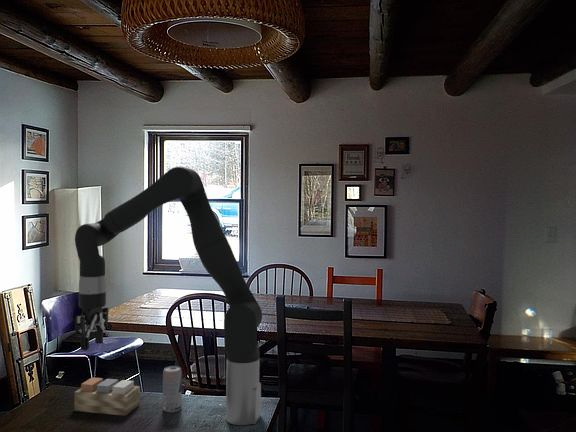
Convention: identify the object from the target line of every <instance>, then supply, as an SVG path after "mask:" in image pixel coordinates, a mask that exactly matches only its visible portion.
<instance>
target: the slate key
mask: <svg viewBox="0 0 576 432" xmlns="http://www.w3.org/2000/svg"><path fill="white" fill-rule="evenodd" d="M117 383H119V379H116V378H115V379H114V378H106V379H103V382H101V383H100V384H98V385H97V393H107V394H109V393H110V392H112V391H113V386H114V385H116V384H117Z"/></svg>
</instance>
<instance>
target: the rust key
mask: <svg viewBox="0 0 576 432" xmlns="http://www.w3.org/2000/svg"><path fill="white" fill-rule="evenodd" d="M103 381H104V378H102V377H91V378H88V379H87V380H86V381H84V382H82V383H81V385H80V388H81V391H85V392H94V391H95V390H97V385H98V384H100V383H101V382H103Z"/></svg>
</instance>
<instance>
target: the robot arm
mask: <svg viewBox="0 0 576 432" xmlns="http://www.w3.org/2000/svg"><path fill="white" fill-rule="evenodd" d="M175 200H179V201H180V202H181V204H182V206H183V209H184V210H185V213H186V214H187V217H188V219H189V223H190V228H191V229H190V230H191V235H192V242H193V246H194V248H195V251H196V253H197V255H198V257H199V259H200V263H201V264H202V266H203V268H204V269H205V270H206V272H207V273H208V274H209V275H210V277H211V278H212V279H213V280H214V282H215V283H216V284H217V285H218V286H219V288H220V289H221V290H222V292H223V294H224V296H225V299H226V301H227V304H228V306H229V308H228V309H227V310H226V312H225V315H224V319H223V320H224V321H223V334H224V335H223V337H224V339H223V341H224V343H223V344H224V349H225V353H226V372H225V373H226V377H225V378H226V380H225V383H226V384H225V385H226V387H225V388H226V389H225V390H226V391H225V392H226V393H225V398H226V399H225V407H226V408H225V420H226V422H227V423H229V424H232V425H235V426H249V425H257V423H258V421H259V419H260V418H261V416H262V413H261V411H262V409H261V407H262V382H260V348H259V347H258V343H257V339H258V338H257V329H258V327H259V326H260V325H261V323H262V320H263V312H262V308H261V306H260V304H259V302H258V300H257V299H256V297H255V296H254V293H253V292H252V291H251V289H250V287H249V286H248V283H247V282H246V280H245V278H244V276H243V273H242V271H241V268H240V266H239V264H238V262H237V259H236V257H235V255H234V251H233V250H232V247H231V244H230V243H229V241H228V239H227V237H226V234H225V233H224V230H223V229H222V227H221V225H220V222H219V220H218V218H217V216H216V215H215V213H214V210H213V209H212V205H211V204H210V201H209V198H208V196H207V192H206V190H205V186H204V183H203V181H202V179H201V176H200V175H199V174H198V172H196V170H194V169H193V168H190V167H189V168H188V167H184V166H175V167H172V168H170V169H169V170H168V171H166V172H165V173H164V174H163V175H161V176H160V177H159V178H158V179H157V180H156V181H154V182H153V183H152V184H151V185H149V186H148V187H147V188H145V189H144V190H143V191H141V192H139V193H138V194H136V195H135V196H134V197H131V198H130V199H129V200H127V201H125V202H123V203H121V204H120V205H118V206H116V207H115V208H113V209H111V210H109V211H108V212H107V213H105V214H104V216H103V218H102V219H100V220H98V221H97V222H94V223H93V222H92V223H84V224H81V225H79V227H78V228H77V229H76V232H75V235H74V244H75V249H76V252H77V257H78V260H79V280H78V307H79V309H81V310H82V312H81V314H80V315H75V316H74V331H75V332H74V335H75V336H74V337H77V338H80V350H81V351H89V350H90V333H91V331H92V330H93V329H95V331H94V342H95V343H96V344H103V342H104V331H105V330H106V329H105V328H108V325H109V307H107V305H106V304H107V280H106V260H105V257H104V256H103V255H100V251H99V250H100V249H99V247H102V246H104V245H106V244H107V243H109V242H110V241H112V240H113V239H115V238H116V237H117V236H118V235H119V234H121V233H122V232H125V231H127V230H129V229H130V228H131V227H133V226H135V225H137V224H138V223H140V222H141V221H143V220H144V219H145V218H146V217H147V216H148V215H150V214H151V212H153V211H154V210H156V209H157V208H159V207H161V206H162V205H165V204H168V203H169V202H173V201H175Z"/></svg>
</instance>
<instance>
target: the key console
mask: <svg viewBox="0 0 576 432" xmlns="http://www.w3.org/2000/svg"><path fill="white" fill-rule="evenodd" d="M140 392H141V387H140V386H138V385H134V388H133V389H132V390H131V391H129V392H128V393H127V394H125V395H119V394H113V391H112V392H110V393H109V394H107V393H97V390H95V391H94V392H85V391H81V387H80V388H79V389H77V390H75V391H74V412H83V413H93V414H94V413H95V414H103V415H104V414H105V415H106V414H107V415H115V416H124V417H125V416H127V415H128V414H130V413H131V412H132V411H134V410H135V409H136V408H137V407H139V406H140V403H141V402H140V400H141V397H140V394H141V393H140Z"/></svg>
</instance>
